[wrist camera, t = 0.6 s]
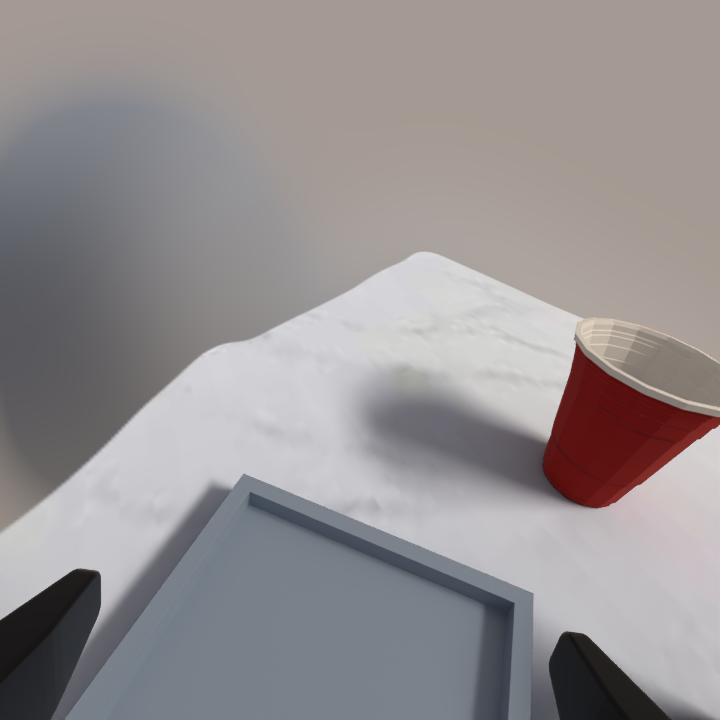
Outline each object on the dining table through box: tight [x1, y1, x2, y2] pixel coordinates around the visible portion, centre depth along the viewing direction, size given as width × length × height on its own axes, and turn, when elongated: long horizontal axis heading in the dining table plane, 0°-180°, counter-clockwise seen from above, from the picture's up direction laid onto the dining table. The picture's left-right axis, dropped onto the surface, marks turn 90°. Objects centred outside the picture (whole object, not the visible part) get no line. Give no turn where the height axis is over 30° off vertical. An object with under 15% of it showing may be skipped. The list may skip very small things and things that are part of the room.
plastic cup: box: [543, 318, 720, 508], centre depth 33 cm, size 11×11×12 cm
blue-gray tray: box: [64, 474, 533, 720], centre depth 21 cm, size 18×18×2 cm
